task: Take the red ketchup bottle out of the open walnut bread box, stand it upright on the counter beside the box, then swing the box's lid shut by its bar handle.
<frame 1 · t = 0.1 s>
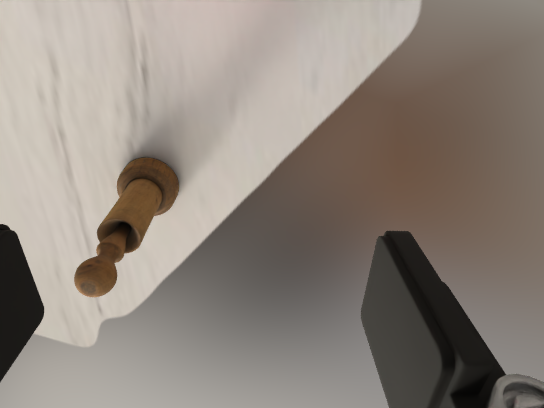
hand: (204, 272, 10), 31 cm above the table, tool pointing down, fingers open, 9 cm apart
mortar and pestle: (151, 182, 43), on the table
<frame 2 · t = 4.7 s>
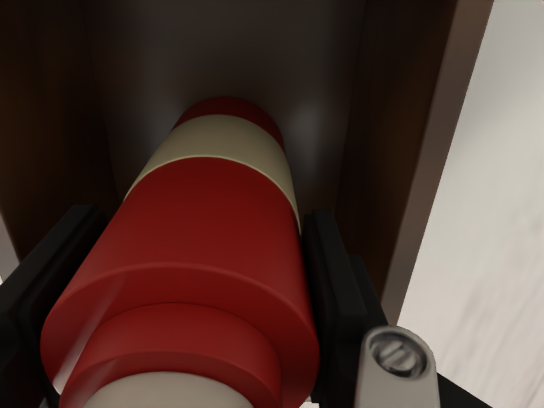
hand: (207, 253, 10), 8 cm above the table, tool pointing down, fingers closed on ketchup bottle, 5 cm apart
bread box: (229, 147, 18), on the table
ketchup bottle: (228, 153, 17), point 1 cm above the table, touching bread box, gripper
when the fingers open (8 cm above the table, at t = 11.5 s): ketchup bottle stays where it is, on the table.
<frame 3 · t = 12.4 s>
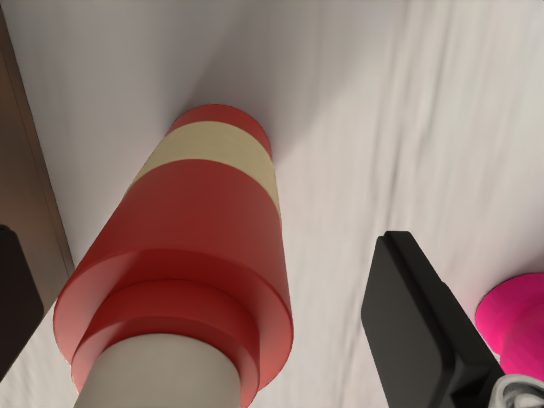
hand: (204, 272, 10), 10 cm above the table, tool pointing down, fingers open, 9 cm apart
pepper mill: (518, 305, 25), on the table
ketchup bottle: (218, 157, 18), on the table
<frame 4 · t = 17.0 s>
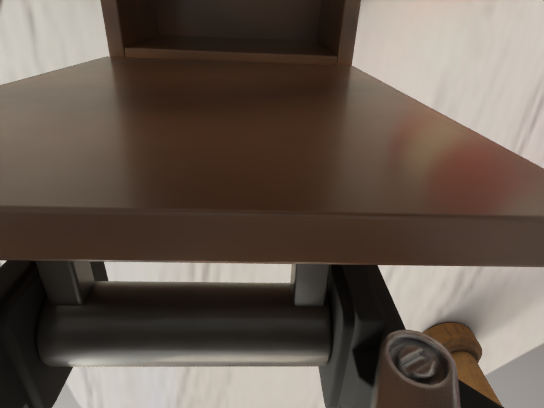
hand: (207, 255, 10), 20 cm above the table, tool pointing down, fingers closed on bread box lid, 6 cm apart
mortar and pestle: (443, 339, 43), on the table
bread box lid: (217, 163, 13), point 17 cm above the table, hinge at 88.0°, touching gripper
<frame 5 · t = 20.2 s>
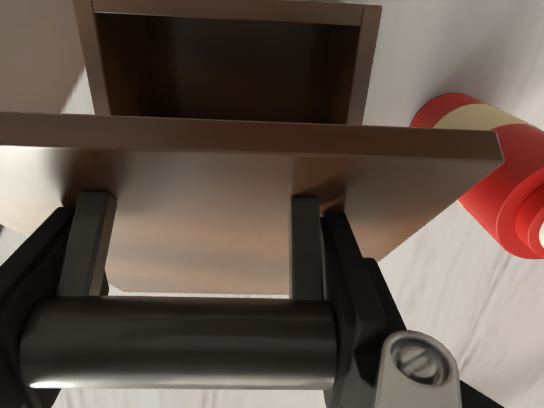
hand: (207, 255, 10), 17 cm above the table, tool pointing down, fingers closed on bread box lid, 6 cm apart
bread box lid: (217, 303, 13), point 15 cm above the table, hinge at 36.5°, touching gripper
bread box: (239, 120, 25), on the table
ketchup bottle: (445, 130, 26), on the table
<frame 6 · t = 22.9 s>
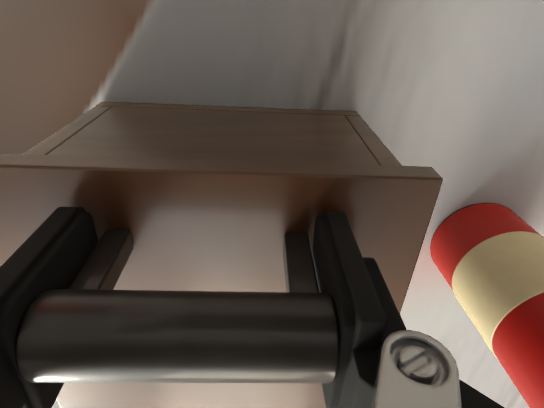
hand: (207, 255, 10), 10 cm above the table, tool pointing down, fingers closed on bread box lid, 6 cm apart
bread box: (232, 232, 22), on the table
ketchup bottle: (474, 240, 22), on the table
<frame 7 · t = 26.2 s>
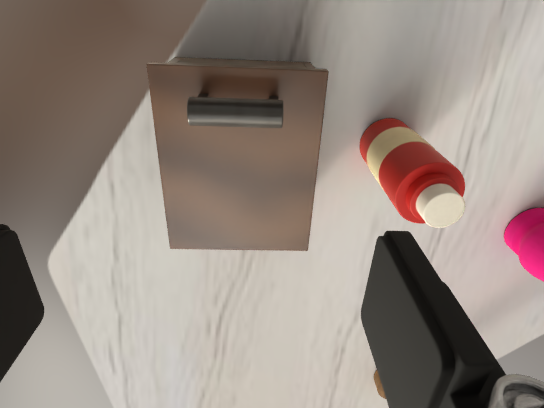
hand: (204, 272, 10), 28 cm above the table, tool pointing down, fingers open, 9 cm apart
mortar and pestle: (393, 373, 58), on the table
bread box lid: (238, 181, 28), point 11 cm above the table, hinge at 1.0°
pepper mill: (528, 228, 44), on the table
bread box: (243, 137, 37), on the table
ketchup bottle: (385, 143, 38), on the table
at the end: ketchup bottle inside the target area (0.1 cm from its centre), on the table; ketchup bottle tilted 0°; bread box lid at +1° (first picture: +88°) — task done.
